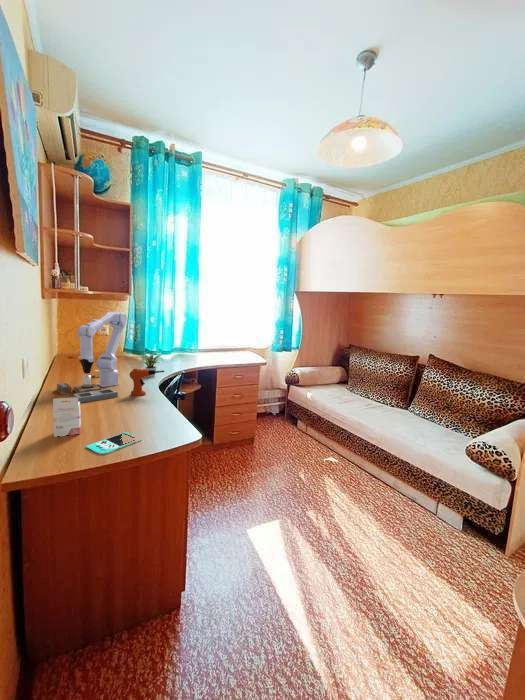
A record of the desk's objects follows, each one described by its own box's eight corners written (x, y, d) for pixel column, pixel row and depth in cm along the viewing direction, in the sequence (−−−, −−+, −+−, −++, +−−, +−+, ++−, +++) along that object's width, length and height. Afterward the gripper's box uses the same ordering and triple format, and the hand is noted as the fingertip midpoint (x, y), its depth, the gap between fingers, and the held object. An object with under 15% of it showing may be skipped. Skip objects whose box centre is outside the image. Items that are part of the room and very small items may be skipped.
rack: (111, 392, 173) (111, 388, 172) (117, 396, 167) (117, 392, 167) (73, 398, 160) (73, 394, 159) (79, 403, 154) (78, 398, 154)
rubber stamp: (111, 374, 211) (111, 357, 209) (111, 376, 206) (111, 358, 204) (94, 375, 206) (94, 357, 205) (94, 377, 201) (94, 359, 200)
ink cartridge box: (81, 429, 125) (80, 393, 123) (79, 434, 121) (79, 397, 118) (55, 432, 122) (54, 395, 119) (53, 437, 117) (51, 399, 115)
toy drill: (166, 393, 173) (163, 366, 170) (130, 397, 170) (126, 370, 168) (167, 391, 178) (164, 365, 175) (132, 394, 175) (128, 368, 172)
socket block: (94, 388, 179) (94, 383, 179) (100, 392, 172) (100, 388, 172) (73, 390, 172) (73, 386, 172) (80, 395, 165) (80, 390, 165)
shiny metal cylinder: (90, 390, 175) (89, 374, 174) (92, 392, 172) (92, 375, 171) (82, 391, 172) (81, 375, 171) (84, 393, 169) (84, 376, 168)
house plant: (165, 378, 211) (166, 354, 208) (144, 380, 203) (144, 354, 200) (159, 373, 222) (159, 350, 220) (138, 375, 215) (138, 351, 212)
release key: (63, 386, 174) (63, 382, 174) (68, 390, 168) (68, 385, 168) (58, 387, 172) (58, 382, 172) (62, 390, 167) (62, 386, 166)
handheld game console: (84, 448, 111) (84, 445, 111) (125, 434, 125) (125, 431, 125) (101, 457, 106) (101, 453, 106) (142, 441, 120) (142, 438, 119)
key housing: (65, 389, 174) (65, 382, 174) (71, 393, 168) (71, 386, 167) (56, 390, 171) (56, 383, 171) (62, 394, 165) (61, 388, 164)
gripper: (73, 346, 171) (74, 371, 173) (82, 350, 161) (83, 376, 163) (88, 345, 176) (88, 369, 178) (97, 349, 166) (97, 375, 168)
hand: (86, 373), depth 170 cm, fingers closed
